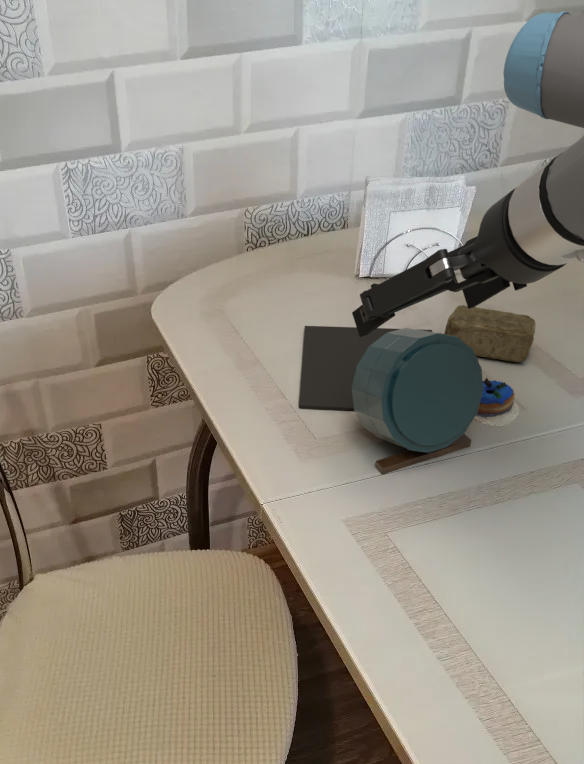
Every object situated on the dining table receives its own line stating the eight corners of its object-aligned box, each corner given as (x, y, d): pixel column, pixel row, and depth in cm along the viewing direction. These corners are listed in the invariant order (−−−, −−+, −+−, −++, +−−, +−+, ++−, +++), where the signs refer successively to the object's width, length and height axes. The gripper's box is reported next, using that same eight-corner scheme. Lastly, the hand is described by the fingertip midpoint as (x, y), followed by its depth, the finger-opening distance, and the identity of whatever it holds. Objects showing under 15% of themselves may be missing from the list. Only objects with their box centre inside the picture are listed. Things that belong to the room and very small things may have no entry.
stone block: (526, 367, 106) (535, 334, 102) (439, 353, 109) (444, 320, 106) (531, 346, 110) (539, 313, 106) (446, 332, 113) (452, 301, 110)
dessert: (495, 382, 102) (517, 364, 96) (515, 429, 101) (537, 414, 95) (439, 398, 101) (457, 381, 95) (458, 446, 100) (477, 432, 94)
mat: (431, 332, 113) (431, 329, 113) (444, 415, 99) (445, 411, 98) (304, 328, 115) (304, 325, 115) (298, 408, 101) (298, 405, 100)
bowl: (502, 406, 90) (463, 396, 97) (458, 310, 85) (420, 306, 91) (416, 476, 89) (382, 461, 95) (365, 382, 83) (333, 373, 90)
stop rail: (461, 443, 94) (464, 433, 93) (469, 450, 93) (472, 440, 92) (374, 470, 91) (375, 460, 90) (381, 478, 90) (382, 468, 89)
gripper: (428, 301, 61) (321, 371, 81) (676, 237, 68) (520, 317, 88) (398, 208, 61) (299, 301, 82) (648, 154, 68) (499, 253, 88)
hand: (414, 310), depth 85 cm, fingers open, 13 cm apart
